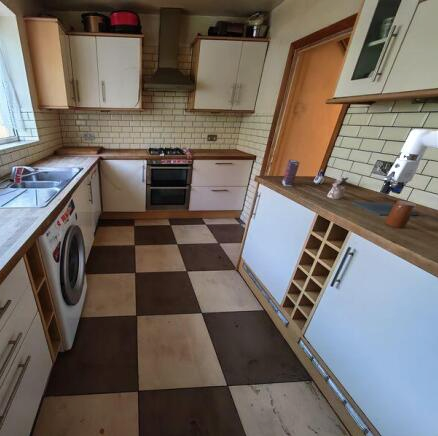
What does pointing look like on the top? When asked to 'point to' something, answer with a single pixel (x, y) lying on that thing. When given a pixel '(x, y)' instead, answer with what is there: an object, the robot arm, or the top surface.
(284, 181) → the supplement box
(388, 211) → the mat
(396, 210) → the jar
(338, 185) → the figurine
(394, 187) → the lid
